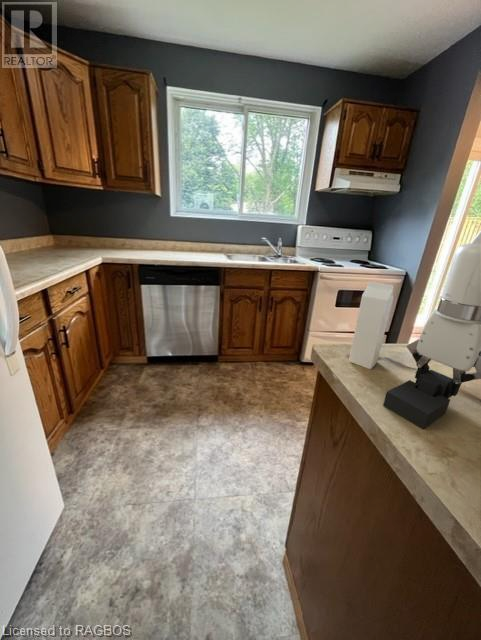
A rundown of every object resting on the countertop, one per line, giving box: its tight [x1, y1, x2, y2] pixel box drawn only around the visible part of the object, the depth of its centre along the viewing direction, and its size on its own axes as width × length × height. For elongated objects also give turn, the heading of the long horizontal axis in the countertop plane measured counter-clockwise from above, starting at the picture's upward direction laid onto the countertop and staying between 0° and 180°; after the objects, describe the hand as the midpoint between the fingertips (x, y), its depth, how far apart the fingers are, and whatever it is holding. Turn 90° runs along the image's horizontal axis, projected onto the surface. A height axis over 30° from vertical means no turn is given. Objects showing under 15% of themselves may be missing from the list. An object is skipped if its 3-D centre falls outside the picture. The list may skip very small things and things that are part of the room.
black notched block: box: [382, 379, 451, 430], centre depth 55 cm, size 9×8×4 cm
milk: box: [348, 281, 395, 370], centre depth 71 cm, size 6×6×22 cm
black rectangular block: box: [417, 369, 453, 397], centre depth 58 cm, size 7×5×4 cm
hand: (433, 388), depth 59 cm, fingers closed on black rectangular block, 5 cm apart
